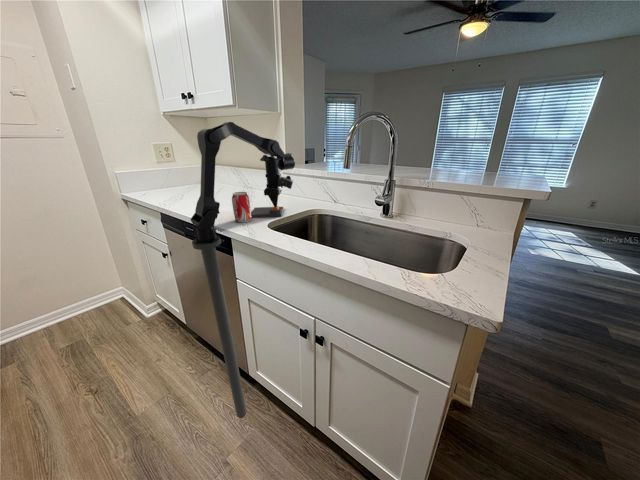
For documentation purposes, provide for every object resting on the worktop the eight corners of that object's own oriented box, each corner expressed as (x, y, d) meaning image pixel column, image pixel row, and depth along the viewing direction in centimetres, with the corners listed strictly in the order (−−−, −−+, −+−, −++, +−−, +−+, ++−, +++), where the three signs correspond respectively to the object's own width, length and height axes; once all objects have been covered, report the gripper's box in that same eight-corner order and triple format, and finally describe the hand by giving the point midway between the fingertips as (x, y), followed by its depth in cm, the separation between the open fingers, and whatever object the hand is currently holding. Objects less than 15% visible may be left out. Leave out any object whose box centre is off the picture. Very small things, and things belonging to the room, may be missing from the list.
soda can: (249, 223, 109) (245, 194, 104) (232, 223, 109) (228, 195, 104) (253, 218, 115) (250, 191, 111) (238, 218, 115) (234, 191, 111)
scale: (249, 217, 116) (249, 211, 114) (255, 210, 127) (254, 204, 126) (282, 216, 116) (281, 210, 115) (284, 209, 127) (284, 203, 126)
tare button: (272, 211, 116) (272, 207, 116) (273, 209, 119) (273, 206, 118) (278, 210, 116) (278, 207, 116) (279, 209, 119) (279, 205, 118)
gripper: (290, 174, 103) (292, 212, 109) (292, 168, 120) (294, 201, 126) (261, 174, 102) (265, 212, 108) (268, 168, 120) (271, 201, 126)
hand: (275, 206), depth 117 cm, fingers closed, pressing on tare button
